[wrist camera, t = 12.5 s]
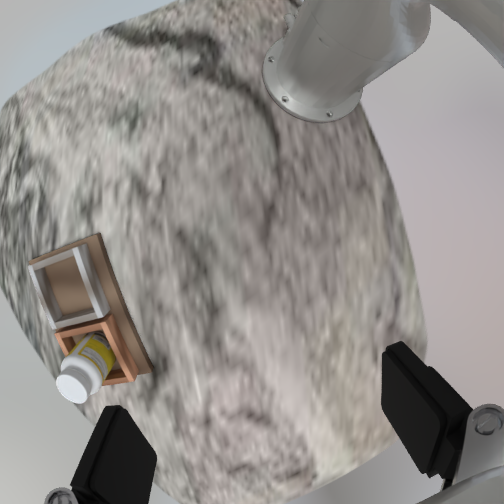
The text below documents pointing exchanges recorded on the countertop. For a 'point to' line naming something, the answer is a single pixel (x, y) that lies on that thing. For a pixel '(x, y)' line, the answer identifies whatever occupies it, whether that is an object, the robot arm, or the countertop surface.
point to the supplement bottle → (86, 367)
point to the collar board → (89, 304)
